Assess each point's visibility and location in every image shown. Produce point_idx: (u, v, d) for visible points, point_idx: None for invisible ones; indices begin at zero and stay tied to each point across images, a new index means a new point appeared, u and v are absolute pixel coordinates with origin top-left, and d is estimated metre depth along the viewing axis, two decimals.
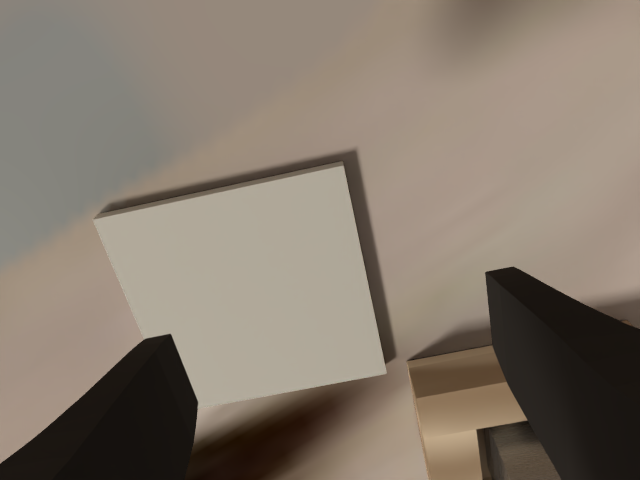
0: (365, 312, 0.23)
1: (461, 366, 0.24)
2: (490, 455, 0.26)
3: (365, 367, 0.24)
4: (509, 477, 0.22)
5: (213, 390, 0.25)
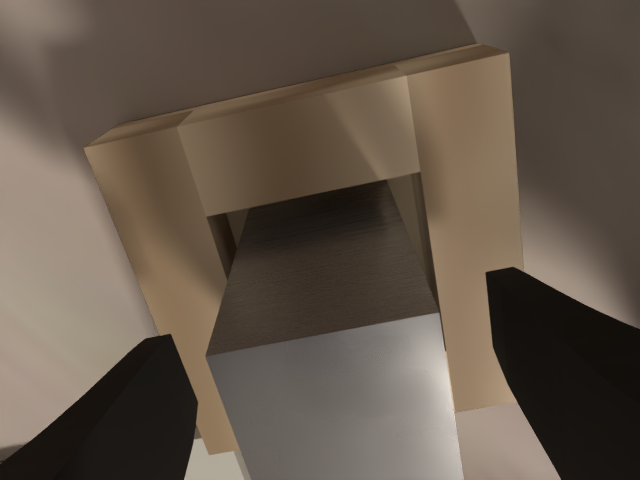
0: None
1: None
2: None
3: (218, 454, 0.19)
4: None
5: None
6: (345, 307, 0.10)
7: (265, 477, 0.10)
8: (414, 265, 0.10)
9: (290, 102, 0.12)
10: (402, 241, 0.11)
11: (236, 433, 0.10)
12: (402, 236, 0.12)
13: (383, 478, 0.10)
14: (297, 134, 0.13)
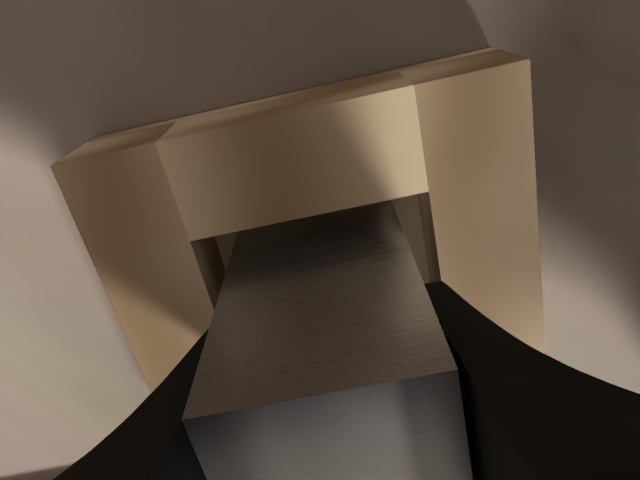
0: None
1: None
2: None
3: None
4: None
5: None
6: (347, 358, 0.08)
7: None
8: (425, 305, 0.09)
9: (283, 115, 0.11)
10: (410, 274, 0.10)
11: None
12: (410, 267, 0.10)
13: None
14: (291, 150, 0.11)
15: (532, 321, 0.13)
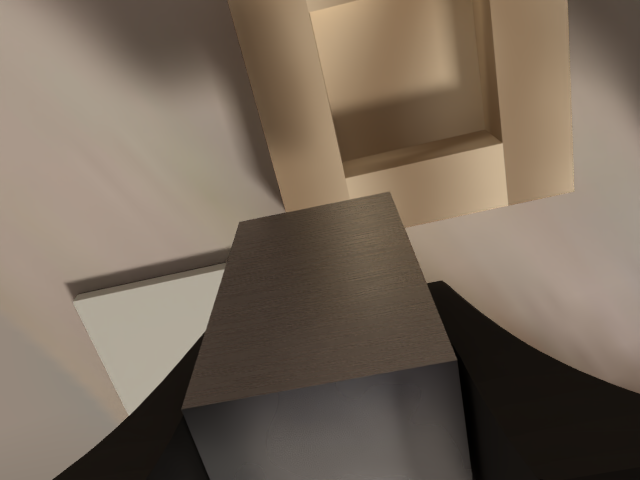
0: None
1: None
2: None
3: None
4: None
5: None
6: (346, 349, 0.08)
7: None
8: (425, 297, 0.09)
9: None
10: (410, 267, 0.10)
11: None
12: (409, 260, 0.10)
13: None
14: None
15: (562, 83, 0.17)
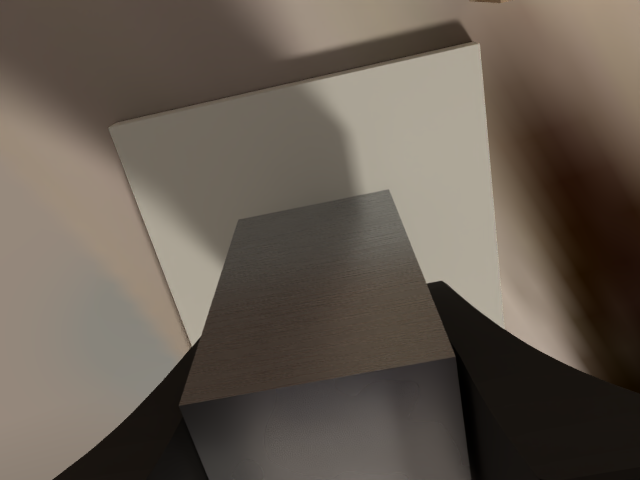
0: (350, 87, 0.14)
1: None
2: None
3: (461, 82, 0.14)
4: None
5: None
6: (344, 346, 0.08)
7: None
8: (423, 294, 0.09)
9: None
10: (408, 264, 0.10)
11: None
12: (408, 258, 0.10)
13: None
14: None
15: None
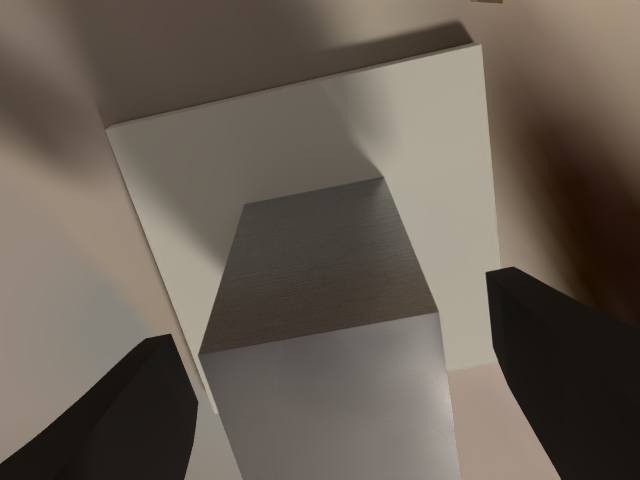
0: (350, 88, 0.14)
1: None
2: None
3: (462, 84, 0.14)
4: None
5: (476, 312, 0.17)
6: (343, 306, 0.09)
7: (258, 479, 0.10)
8: (413, 263, 0.10)
9: None
10: (400, 239, 0.11)
11: (229, 434, 0.10)
12: (400, 234, 0.11)
13: None
14: None
15: None
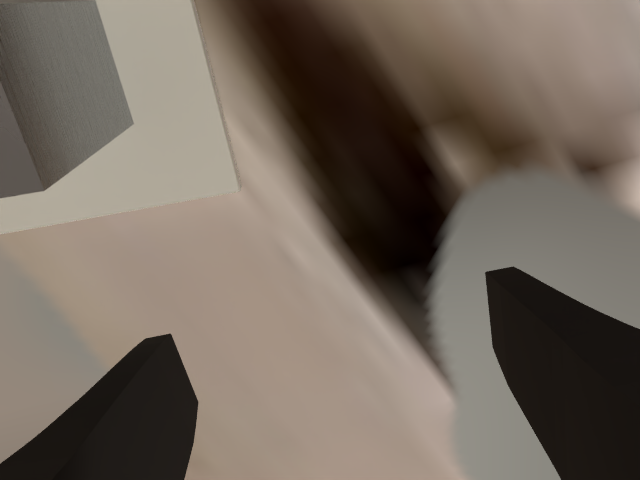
0: None
1: None
2: None
3: None
4: None
5: (201, 141, 0.19)
6: None
7: None
8: None
9: None
10: (28, 3, 0.13)
11: None
12: (34, 3, 0.14)
13: None
14: None
15: None
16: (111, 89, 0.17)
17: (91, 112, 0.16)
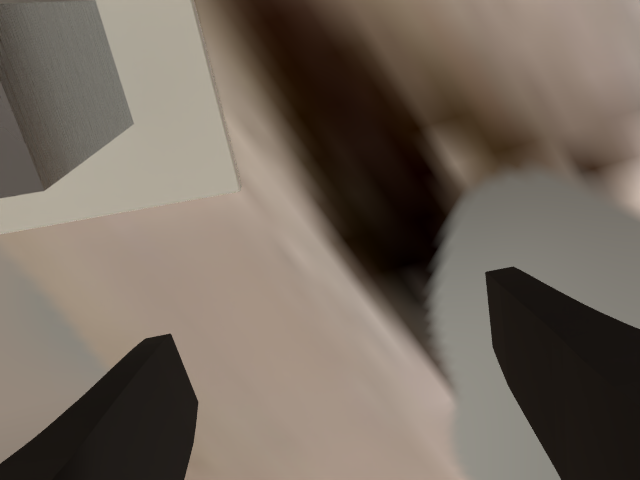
0: None
1: None
2: None
3: None
4: None
5: (201, 141, 0.19)
6: None
7: None
8: None
9: None
10: (28, 3, 0.13)
11: None
12: (34, 3, 0.14)
13: None
14: None
15: None
16: (111, 89, 0.17)
17: (91, 112, 0.16)
